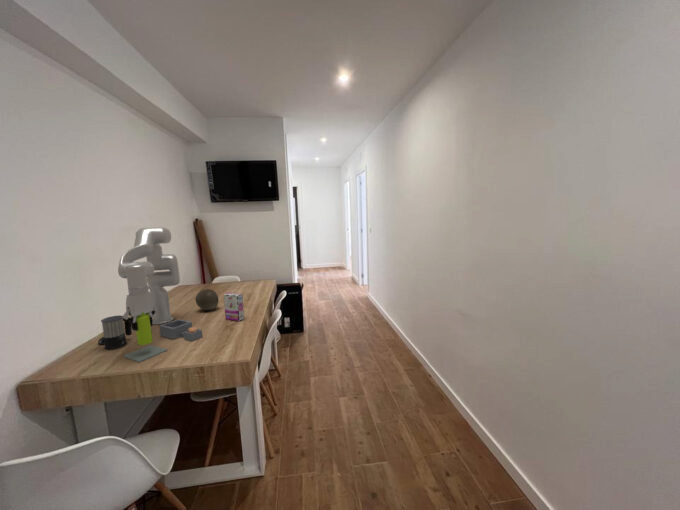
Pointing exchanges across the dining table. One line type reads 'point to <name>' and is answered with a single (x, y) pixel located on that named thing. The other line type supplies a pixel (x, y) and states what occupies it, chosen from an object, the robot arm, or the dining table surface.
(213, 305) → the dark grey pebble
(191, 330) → the tan ball
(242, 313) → the candy bar box
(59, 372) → the dining table surface
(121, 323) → the milk frother
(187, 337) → the holder
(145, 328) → the soap dispenser
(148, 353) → the mat
